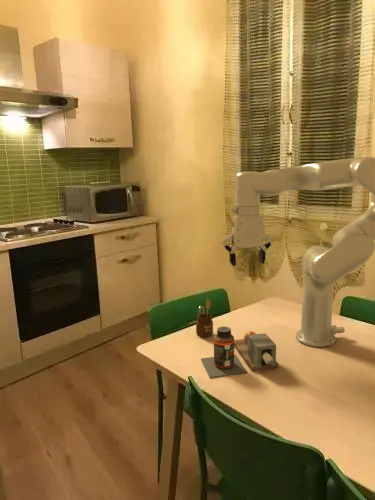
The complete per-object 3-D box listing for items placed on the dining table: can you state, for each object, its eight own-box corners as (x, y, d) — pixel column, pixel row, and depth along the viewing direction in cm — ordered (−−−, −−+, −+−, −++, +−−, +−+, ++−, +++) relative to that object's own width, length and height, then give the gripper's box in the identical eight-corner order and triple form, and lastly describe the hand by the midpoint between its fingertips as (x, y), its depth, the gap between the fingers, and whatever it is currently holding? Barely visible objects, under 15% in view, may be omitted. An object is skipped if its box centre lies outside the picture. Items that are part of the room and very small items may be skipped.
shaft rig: (232, 344, 130) (232, 321, 128) (255, 341, 131) (255, 319, 130) (253, 373, 112) (253, 347, 110) (279, 370, 113) (280, 344, 112)
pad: (235, 355, 123) (235, 354, 122) (247, 373, 112) (247, 372, 112) (200, 359, 120) (200, 358, 120) (209, 378, 110) (209, 376, 110)
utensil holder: (192, 335, 137) (192, 303, 135) (202, 329, 142) (201, 297, 140) (207, 339, 134) (206, 306, 132) (216, 332, 139) (216, 300, 137)
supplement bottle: (233, 370, 113) (233, 333, 110) (212, 369, 114) (212, 332, 112) (235, 360, 118) (235, 325, 116) (215, 359, 120) (215, 324, 117)
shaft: (243, 345, 124) (243, 332, 123) (256, 343, 125) (257, 330, 124) (261, 368, 110) (262, 354, 109) (276, 367, 110) (277, 352, 110)
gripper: (224, 214, 119) (225, 268, 123) (278, 211, 123) (277, 264, 126) (218, 211, 127) (218, 263, 130) (268, 208, 130) (268, 259, 134)
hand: (247, 263), depth 128 cm, fingers open, 9 cm apart
